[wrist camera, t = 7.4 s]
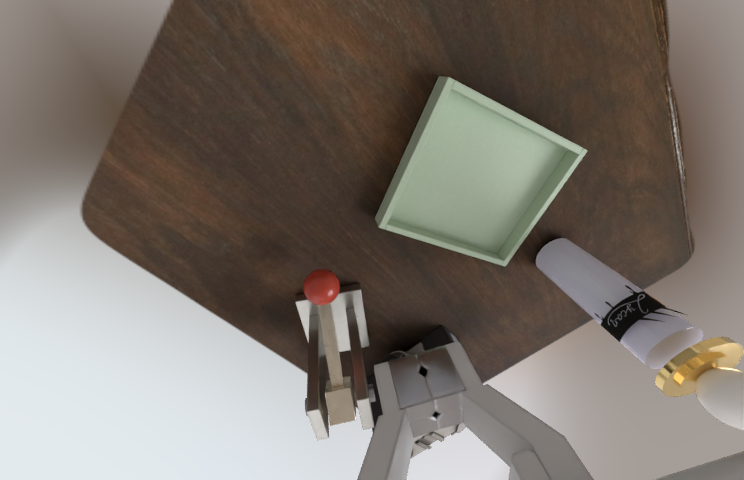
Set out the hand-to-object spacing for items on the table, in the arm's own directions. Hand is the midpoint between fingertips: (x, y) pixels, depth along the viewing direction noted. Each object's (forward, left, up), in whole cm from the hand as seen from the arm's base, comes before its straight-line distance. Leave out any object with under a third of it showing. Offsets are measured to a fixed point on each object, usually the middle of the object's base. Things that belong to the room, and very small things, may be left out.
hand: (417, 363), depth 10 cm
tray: (+11, +4, -20) cm, 23 cm away
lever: (+2, -13, -14) cm, 19 cm away
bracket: (+4, -16, -20) cm, 26 cm away
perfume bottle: (+25, 0, -20) cm, 32 cm away
